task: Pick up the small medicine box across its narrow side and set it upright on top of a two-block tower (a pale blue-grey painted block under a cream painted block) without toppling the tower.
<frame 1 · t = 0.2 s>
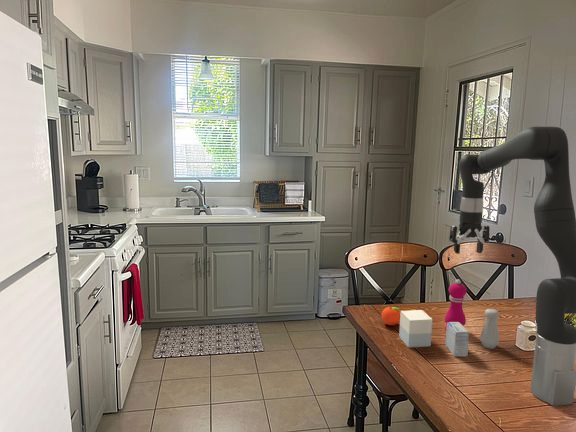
hand: (468, 253, 150), 29 cm above the table, fingers open, 8 cm apart
tower base: (414, 341, 142), on the table, touching tower top
salt shaker: (488, 346, 139), on the table
pepper mill: (454, 331, 150), on the table
clementine: (391, 324, 155), on the table
tower top: (415, 328, 141), point 5 cm above the table, touching tower base
medicine box: (455, 351, 135), on the table
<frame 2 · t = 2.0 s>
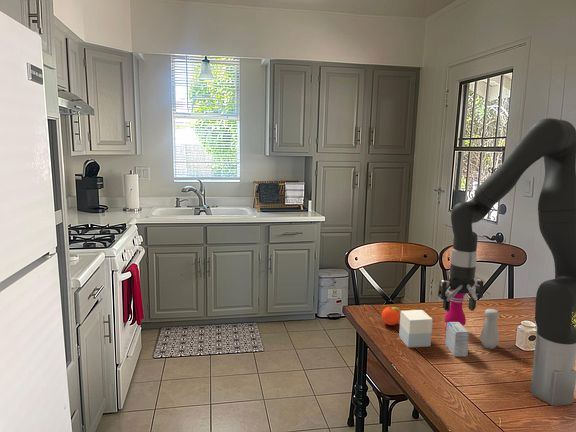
hand: (458, 310, 133), 14 cm above the table, fingers open, 8 cm apart
nothing on the table moved.
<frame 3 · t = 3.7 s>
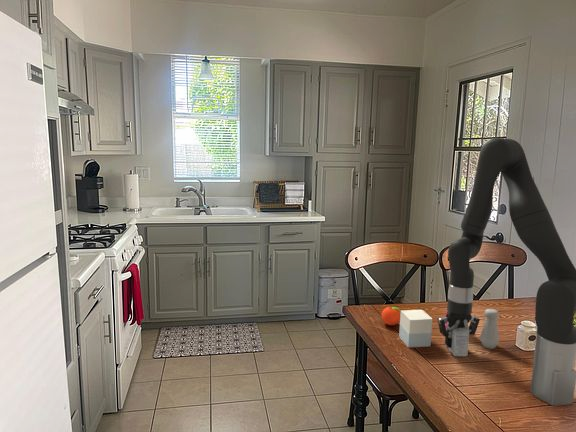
hand: (456, 346, 135), 2 cm above the table, fingers closed on medicine box, 4 cm apart
medicine box: (455, 351, 135), on the table, touching gripper
everything else where it was.
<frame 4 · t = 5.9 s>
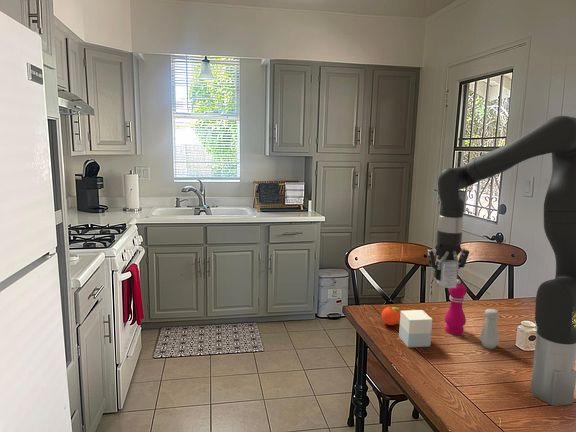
hand: (445, 279, 134), 24 cm above the table, fingers closed on medicine box, 4 cm apart
medicine box: (444, 284, 134), point 22 cm above the table, touching gripper
everything else where it was.
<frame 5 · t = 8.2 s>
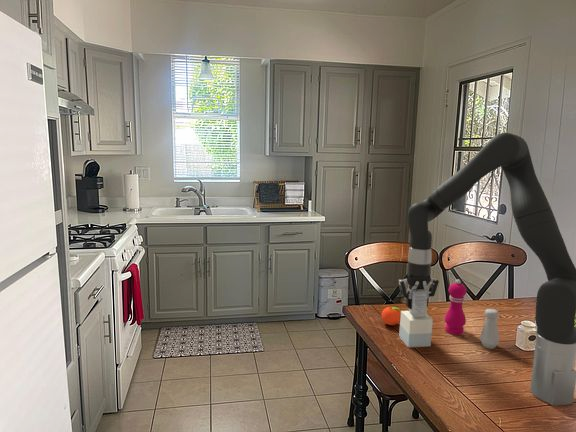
hand: (416, 307, 140), 12 cm above the table, fingers closed on medicine box, 4 cm apart
medicine box: (416, 312, 140), point 11 cm above the table, touching gripper
everything else where it was.
when the fingers open (12 cm above the table, at t = 8.3 s): medicine box moves 1 cm, resting on tower top.
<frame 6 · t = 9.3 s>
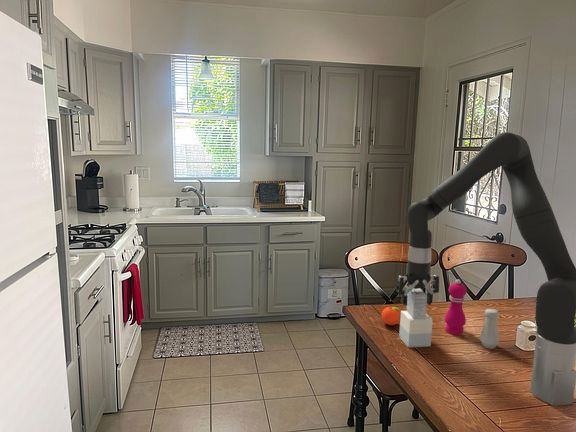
hand: (416, 304, 140), 14 cm above the table, fingers open, 8 cm apart
tower top: (415, 328, 141), point 5 cm above the table, touching medicine box, tower base
medicine box: (415, 315, 140), point 10 cm above the table, touching tower top
everything else where it was.
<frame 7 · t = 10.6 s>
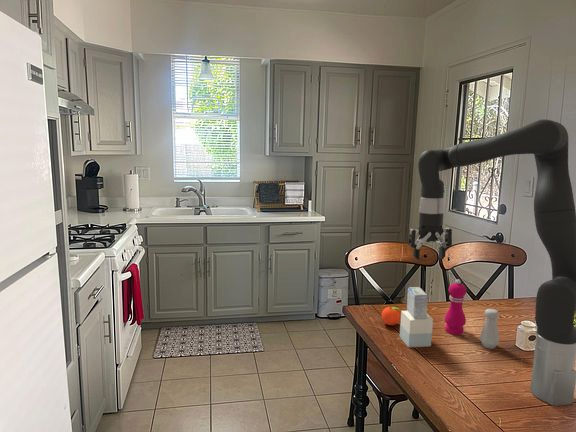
hand: (429, 259, 135), 30 cm above the table, fingers open, 8 cm apart
nothing on the table moved.
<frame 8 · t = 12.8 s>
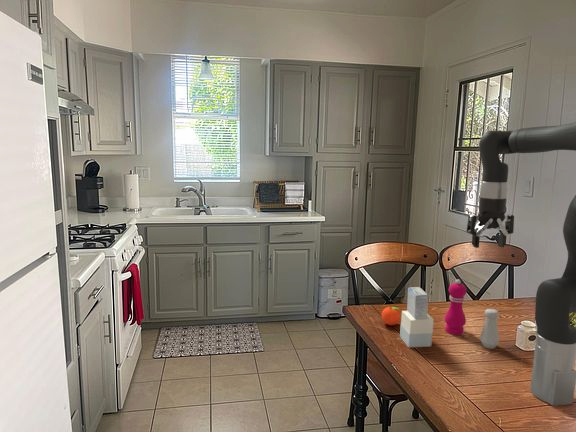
hand: (488, 247, 128), 36 cm above the table, fingers open, 8 cm apart
nothing on the table moved.
at the end: medicine box inside the target area on the tower base (0.0 cm from its centre), point 9.8 cm above the tower base's base; medicine box tilted 1°; tower top 0.2 cm off-centre on the tower base, point 5.0 cm above the tower base's base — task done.
